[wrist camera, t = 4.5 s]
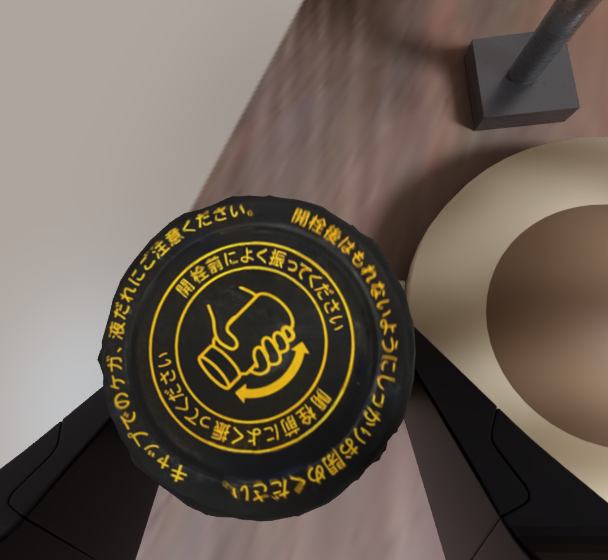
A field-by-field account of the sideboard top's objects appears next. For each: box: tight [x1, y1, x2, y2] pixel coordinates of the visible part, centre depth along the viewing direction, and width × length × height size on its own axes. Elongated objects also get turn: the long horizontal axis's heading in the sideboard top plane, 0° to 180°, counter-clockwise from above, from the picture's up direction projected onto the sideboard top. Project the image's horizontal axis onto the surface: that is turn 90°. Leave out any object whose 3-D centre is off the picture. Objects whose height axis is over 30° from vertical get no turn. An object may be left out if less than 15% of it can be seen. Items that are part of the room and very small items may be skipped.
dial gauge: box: [464, 0, 602, 131], centre depth 13 cm, size 8×5×12 cm, turn 3°
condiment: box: [98, 195, 416, 521], centre depth 11 cm, size 7×8×12 cm
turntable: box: [405, 137, 608, 502], centre depth 15 cm, size 18×18×2 cm
